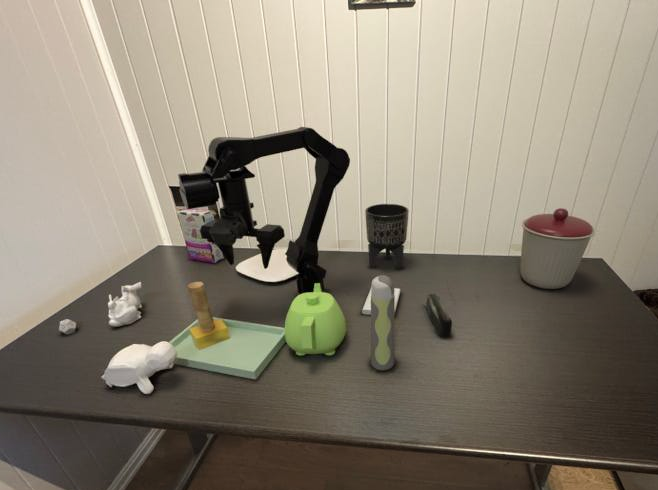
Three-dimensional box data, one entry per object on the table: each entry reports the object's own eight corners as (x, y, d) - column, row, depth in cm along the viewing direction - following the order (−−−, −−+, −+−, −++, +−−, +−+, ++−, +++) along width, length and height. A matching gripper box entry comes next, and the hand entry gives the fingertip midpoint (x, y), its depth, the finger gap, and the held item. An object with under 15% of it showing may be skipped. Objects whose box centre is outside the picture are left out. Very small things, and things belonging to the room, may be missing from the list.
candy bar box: (225, 258, 127) (214, 210, 119) (215, 263, 123) (202, 214, 115) (199, 253, 131) (187, 207, 122) (189, 259, 127) (175, 211, 118)
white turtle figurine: (117, 403, 74) (175, 386, 70) (85, 372, 70) (145, 352, 66) (143, 374, 81) (197, 357, 77) (116, 344, 77) (172, 325, 73)
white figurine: (138, 304, 101) (125, 272, 96) (162, 307, 100) (151, 274, 95) (103, 329, 91) (87, 294, 86) (130, 332, 90) (115, 297, 85)
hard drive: (400, 293, 104) (394, 317, 93) (371, 291, 105) (362, 314, 95) (400, 288, 103) (394, 311, 93) (371, 286, 104) (361, 308, 94)
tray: (290, 335, 87) (289, 328, 86) (255, 379, 75) (254, 371, 74) (204, 322, 93) (201, 315, 92) (158, 361, 80) (155, 353, 79)
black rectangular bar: (454, 320, 83) (434, 287, 95) (441, 321, 83) (422, 288, 95) (452, 338, 86) (432, 304, 98) (439, 339, 85) (421, 305, 98)
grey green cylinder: (371, 356, 80) (369, 272, 70) (393, 356, 80) (395, 272, 70) (370, 371, 76) (368, 284, 66) (394, 371, 76) (396, 284, 65)
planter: (369, 255, 127) (368, 203, 117) (407, 257, 125) (409, 204, 116) (363, 272, 116) (362, 215, 107) (405, 274, 114) (407, 216, 105)
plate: (279, 250, 133) (278, 245, 132) (325, 264, 122) (325, 259, 121) (228, 272, 118) (226, 267, 117) (275, 290, 107) (274, 285, 106)
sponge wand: (222, 328, 89) (208, 276, 82) (230, 338, 86) (216, 284, 79) (192, 339, 86) (174, 285, 78) (199, 349, 82) (181, 294, 75)
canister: (591, 284, 106) (615, 210, 95) (553, 303, 98) (575, 224, 87) (535, 263, 119) (551, 196, 108) (497, 278, 111) (510, 207, 100)
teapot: (295, 319, 93) (289, 273, 87) (349, 318, 93) (346, 273, 87) (278, 372, 76) (268, 320, 70) (343, 371, 76) (340, 320, 70)
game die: (57, 334, 90) (51, 324, 88) (72, 326, 93) (67, 316, 91) (67, 337, 89) (61, 327, 87) (82, 329, 91) (77, 319, 90)
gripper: (174, 208, 77) (194, 276, 86) (254, 214, 73) (267, 285, 81) (207, 195, 87) (222, 257, 95) (280, 199, 82) (290, 264, 90)
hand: (249, 266), depth 90 cm, fingers open, 9 cm apart
